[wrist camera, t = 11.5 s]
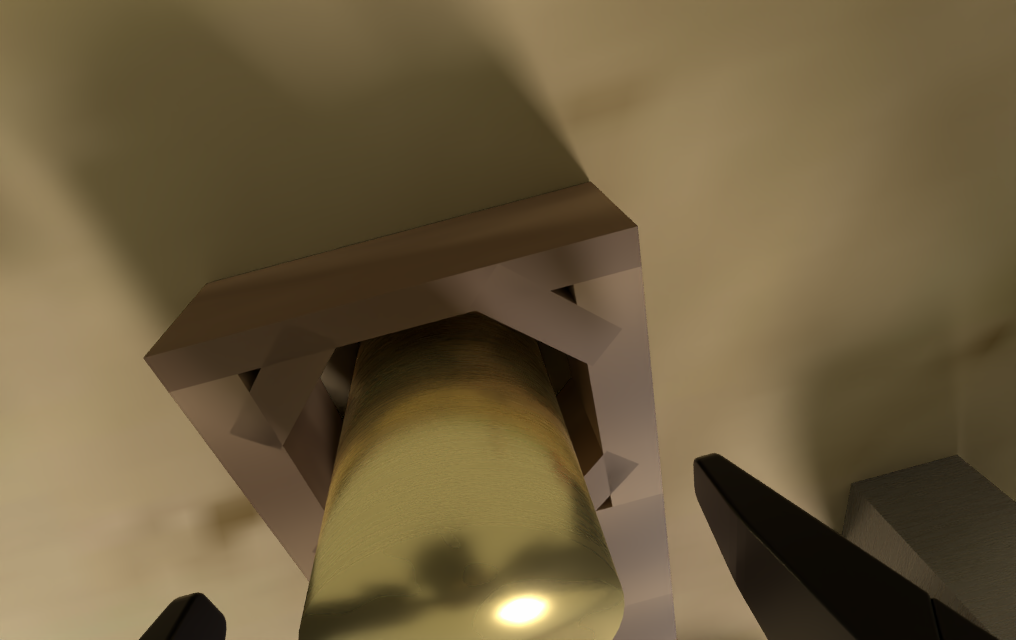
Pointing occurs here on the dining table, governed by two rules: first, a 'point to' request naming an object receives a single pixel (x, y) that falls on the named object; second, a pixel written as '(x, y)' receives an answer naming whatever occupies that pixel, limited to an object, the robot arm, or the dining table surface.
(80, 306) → the dining table surface
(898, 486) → the square bit
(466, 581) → the round bit
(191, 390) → the bore block
